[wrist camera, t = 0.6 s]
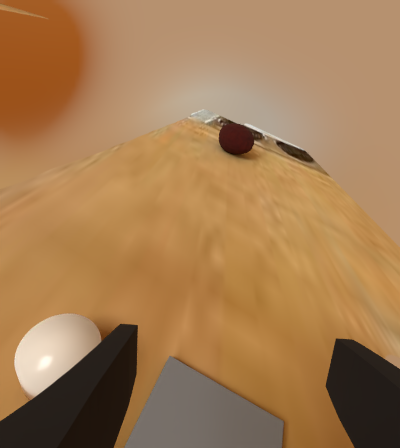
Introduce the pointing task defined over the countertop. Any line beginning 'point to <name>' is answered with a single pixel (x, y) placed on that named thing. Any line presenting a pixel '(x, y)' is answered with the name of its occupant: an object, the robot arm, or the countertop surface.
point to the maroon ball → (236, 139)
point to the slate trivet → (201, 415)
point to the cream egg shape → (53, 350)
